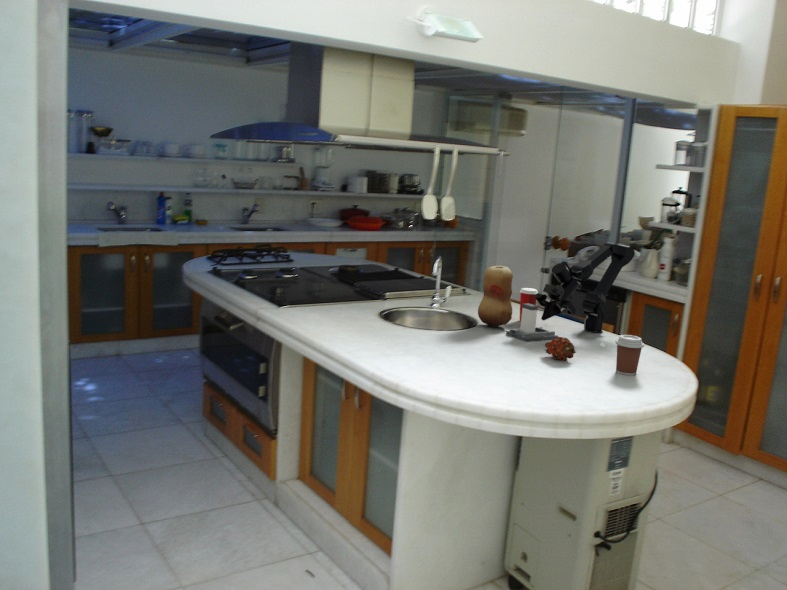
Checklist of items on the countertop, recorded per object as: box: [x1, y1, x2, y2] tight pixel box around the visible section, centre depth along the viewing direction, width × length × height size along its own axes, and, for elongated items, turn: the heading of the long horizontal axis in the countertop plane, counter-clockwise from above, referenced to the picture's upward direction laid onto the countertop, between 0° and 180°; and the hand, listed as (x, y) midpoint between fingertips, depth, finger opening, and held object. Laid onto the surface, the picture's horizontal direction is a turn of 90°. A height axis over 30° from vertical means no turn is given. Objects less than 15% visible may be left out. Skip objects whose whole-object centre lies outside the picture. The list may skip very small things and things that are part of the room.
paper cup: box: [519, 287, 539, 323], centre depth 308 cm, size 8×8×14 cm
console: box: [505, 326, 559, 343], centre depth 282 cm, size 16×12×2 cm
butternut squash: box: [477, 265, 514, 328], centre depth 293 cm, size 14×13×25 cm
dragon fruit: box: [544, 336, 576, 362], centre depth 252 cm, size 8×8×12 cm
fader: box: [517, 303, 539, 333], centre depth 280 cm, size 6×5×12 cm
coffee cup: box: [615, 334, 645, 376], centre depth 240 cm, size 9×9×12 cm
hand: (542, 319), depth 284 cm, fingers closed
